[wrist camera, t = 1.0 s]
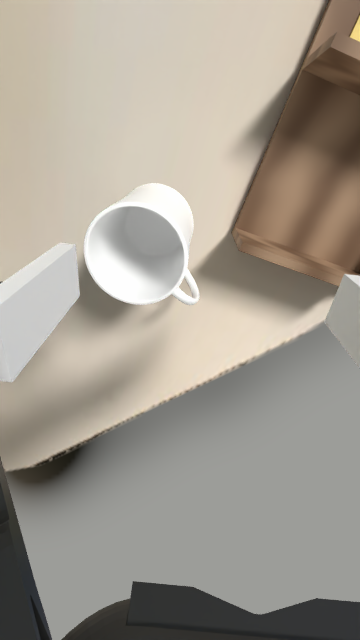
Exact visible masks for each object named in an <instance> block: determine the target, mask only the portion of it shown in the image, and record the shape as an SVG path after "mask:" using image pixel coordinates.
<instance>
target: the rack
mask: <svg viewBox="0 0 360 640" xmlns="http://www.w3.org/2000/svg"><path fill="white" fill-rule="evenodd" d="M232 235H233V238H234V240H235V242H236V245H237V247H238V249H239V251H241V252H244V253H247V254H250V255H253V256H255V257H258V258H261V259H264V260H267V261H269V262H272V263H275V264H278V265H281V266H283V267H286V268H289V269H292V270H295V271H297V272H300V273H303V274H306V275H309V276H312V277H314V278H317V279H320V280H323V281H326V282H328V283H331V284H334V285H337V286H339V285H340V283H341V280H342V278H343V276H344V274H349V275H358V276H360V0H329V2H328V4H327V7H326V9H325V11H324V14H323V16H322V19H321V21H320V23H319V26H318V28H317V30H316V33H315V35H314V38H313V40H312V42H311V45H310V47H309V49H308V52H307V54H306V57H305V59H304V61H303V64H302V66H301V68H300V71H299V73H298V76H297V78H296V80H295V83H294V85H293V88H292V90H291V92H290V95H289V97H288V99H287V102H286V104H285V107H284V109H283V111H282V114H281V116H280V118H279V121H278V123H277V126H276V128H275V130H274V133H273V135H272V137H271V140H270V142H269V145H268V147H267V149H266V152H265V154H264V156H263V159H262V161H261V164H260V166H259V168H258V171H257V173H256V176H255V178H254V180H253V183H252V185H251V187H250V190H249V192H248V195H247V197H246V199H245V202H244V204H243V206H242V209H241V211H240V214H239V216H238V218H237V221H236V223H235V225H234V228H233V230H232Z"/></svg>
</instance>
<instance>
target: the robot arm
mask: <svg viewBox="0 0 360 640" xmlns="http://www.w3.org/2000/svg"><path fill="white" fill-rule="evenodd" d="M79 296H80V290H79V278H78V266H77V254H76V244H67V243H59V244H57V245H56V246H54V247H53V248H51V249H50V250H48V251H47V252H46V253H44V254H43V255H41V256H40V257H38V258H37V259H35V260H34V261H32V262H31V263H30V264H28V265H27V266H25V267H24V268H22V269H21V270H19V271H18V272H17V273H15V274H14V275H12V276H11V277H9V278H8V279H6V280H5V281H4V282H0V381H6V382H13V381H14V380H15V378H16V377H17V376H18V375H19V373H20V372H21V371H22V369H23V368H24V367H25V366H26V364H27V363H28V362H29V361H30V359H31V358H32V357H33V355H34V354H35V353H36V352H37V350H38V349H39V348H40V346H41V345H42V344H43V343H44V341H45V340H46V339H47V337H48V336H49V335H50V334H51V332H52V331H53V330H54V328H55V327H56V326H57V325H58V323H59V322H60V321H61V320H62V318H63V317H64V316H65V314H66V313H67V312H68V311H69V309H70V308H71V307H72V305H73V304H74V303H75V302H76V300H77V299H78V298H79ZM325 323H326V325H327V326H328V327H329V329H330V330H331V331H332V333H333V334H334V335H335V337H336V338H337V339H338V340H339V342H340V343H341V344H342V346H343V347H344V348H345V350H346V351H347V352H348V354H349V355H350V356H351V358H352V359H353V360H354V362H355V363H356V364H357V366H358V367H359V368H360V276H358V275H349V274H344V276H343V278H342V280H341V283H340V285H339V288H338V290H337V293H336V295H335V297H334V300H333V302H332V305H331V307H330V310H329V312H328V314H327V317H326V319H325ZM0 640H52V638H51V634H50V630H49V627H48V623H47V620H46V617H45V613H44V610H43V607H42V604H41V601H40V597H39V594H38V591H37V587H36V584H35V580H34V577H33V573H32V570H31V566H30V563H29V559H28V555H27V552H26V548H25V544H24V541H23V537H22V533H21V530H20V526H19V523H18V519H17V515H16V512H15V508H14V505H13V501H12V498H11V494H10V490H9V487H8V483H7V480H6V476H5V472H4V468H3V465H2V461H1V458H0ZM62 640H360V602H350V601H339V600H328V599H318V598H316V599H313V600H310V601H306V602H303V603H299V604H296V605H293V606H289V607H286V608H283V609H279V610H276V611H273V612H269V613H266V614H262V615H258V614H253V613H251V612H248V611H246V610H243V609H241V608H239V607H237V606H234V605H232V604H230V603H228V602H226V601H223V600H221V599H219V598H216V597H214V596H212V595H210V594H208V593H205V592H203V591H201V590H199V589H196V588H194V587H188V586H187V587H186V586H177V585H166V584H156V583H145V582H134V581H133V585H132V591H131V598H130V599H127V600H123V601H120V602H116V603H114V604H112V605H109V606H107V607H105V608H103V609H101V610H99V611H97V612H96V613H94V614H93V615H91V616H89V617H88V618H86V619H85V620H84V621H82V622H81V623H80V624H79V625H77V626H76V627H75V628H74V629H72V630H71V631H70V632H69V633H68V634H67V635H66V636H65V637H64V638H63V639H62Z"/></svg>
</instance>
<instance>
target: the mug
mask: <svg viewBox="0 0 360 640" xmlns="http://www.w3.org/2000/svg"><path fill="white" fill-rule="evenodd" d="M193 228H194V222H193V216H192V212H191V209H190V207H189V205H188V203H187V202H186V200H185V199H184V198H183V197H182V196H181V195H180V194H179V193H178V192H177V191H176V190H174V189H172V188H171V187H168V186H166V185H163V184H157V183H150V184H144V185H141V186H139V187H137V188H135V189H133V190H132V191H131V192H129V193H128V194H127V196H126V197H125V198H123V199H121V200H119V201H118V202H116V203H114V204H113V205H111V206H109V207H108V208H106V209H104V210H103V211H102V212H100V213H99V214H98V215H97V216H96V217H95V218H94V220H93V221H92V222H91V224H90V226H89V228H88V230H87V232H86V235H85V240H84V258H85V262H86V265H87V268H88V270H89V273H90V274H91V276H92V278H93V279H94V281H95V282H96V283H97V284H98V286H99V287H100V288H101V289H102V290H104V291H105V292H106V293H107V294H109V295H110V296H112V297H114V298H115V299H117V300H120V301H122V302H126V303H130V304H137V305H145V304H152V303H155V302H158V301H161V300H163V299H165V298H166V297H168V296H169V295H171V294H172V295H173V296H174V297H175V298H177V299H178V300H179V301H181V302H182V303H184V304H187V305H193V304H195V303H197V302H198V300H199V290H198V287H197V285H196V282H195V280H194V279H193V277H192V275H191V273H190V272H189V270H188V269H187V266H188V257H189V247H190V241H191V238H192V235H193ZM183 278H185V280H186V281H187V283H188V285H189V287H190V290H191V292H192V297H190V296H188V295H187V294H185V293H184V292H183V291H182V290H181V289H180V288H179V285H180V284H181V282H182V280H183Z"/></svg>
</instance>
